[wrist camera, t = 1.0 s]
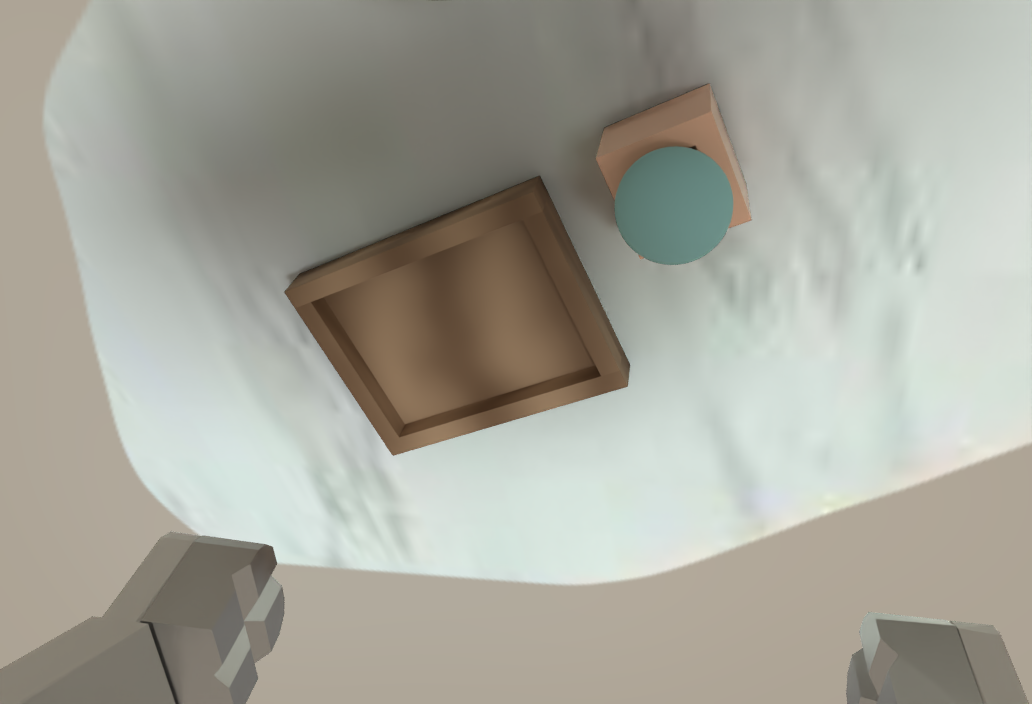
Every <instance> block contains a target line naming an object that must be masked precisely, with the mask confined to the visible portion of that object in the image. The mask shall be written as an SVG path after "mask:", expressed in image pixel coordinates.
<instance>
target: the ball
mask: <svg viewBox="0 0 1032 704" xmlns="http://www.w3.org/2000/svg"><path fill="white" fill-rule="evenodd" d="M732 214H733V194H732V189H731V186H730V183H729V180H728V178H727V176H726V174H725V173H724V171H723V170H722V169H721V168H720V166H719V165H718V164H717V163H716V162H715V161H714V160H713V159H712V158H710V157H709V156H707V155H706V154H704V153H702V152H700V151H698V150H695V149H692V148H687V147H678V146H673V147H665V148H660V149H657V150H654V151H651V152H649V153H647V154H645V155H644V156H642V157H641V158H639V159H638V160H637V161H636V162H635V163H634V164H633V165H632V166H631V167H630V168H629V169H628V170H627V172H626V173H625V174H624V176H623V178H622V180H621V181H620V184H619V186H618V189H617V192H616V197H615V218H616V222H617V225H618V228H619V231H620V233H621V235H622V237H623V238H624V240H625V241H626V243H627V244H628V245H629V246H630V247H631V248H632V249H633V250H634V251H635V252H636V253H637V254H639V255H640V256H642V257H644V258H646V259H648V260H650V261H653V262H656V263H660V264H667V265H678V264H685V263H689V262H692V261H695V260H697V259H699V258H701V257H703V256H705V255H706V254H707V253H709V252H710V251H711V250H712V249H713V248H714V247H716V246H717V245H718V243H719V242H720V241H721V240H722V238H723V237H724V235H725V234H726V232H727V229H728V227H729V225H730V222H731V219H732Z"/></svg>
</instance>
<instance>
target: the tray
mask: <svg viewBox="0 0 1032 704" xmlns="http://www.w3.org/2000/svg"><path fill="white" fill-rule="evenodd" d="M285 294H286V295H287V297H288V298H289V300H290V302H291V303H292V305H293V306H294V308H295V309H296V311H297V312H298V314H299V315H300V317H301V318H302V320H303V321H304V323H305V324H306V326H307V327H308V329H309V330H310V332H311V333H312V335H313V336H314V338H315V339H316V341H317V342H318V344H319V345H320V347H321V348H322V350H323V351H324V353H325V354H326V356H327V357H328V359H329V360H330V362H331V363H332V365H333V366H334V368H335V369H336V371H337V372H338V374H339V375H340V377H341V378H342V380H343V381H344V383H345V384H346V386H347V387H348V389H349V390H350V392H351V393H352V395H353V396H354V398H355V399H356V401H357V402H358V404H359V405H360V407H361V409H362V410H363V412H364V413H365V415H366V416H367V418H368V419H369V421H370V422H371V424H372V425H373V427H374V428H375V430H376V431H377V433H378V434H379V436H380V437H381V439H382V440H383V442H384V443H385V445H386V446H387V448H388V449H389V451H390V452H391V454H392V455H393V456H394V455H397V454H400V453H404V452H407V451H410V450H414V449H417V448H421V447H424V446H427V445H431V444H434V443H438V442H441V441H444V440H448V439H451V438H455V437H458V436H461V435H465V434H468V433H472V432H475V431H478V430H482V429H485V428H489V427H492V426H495V425H499V424H502V423H506V422H509V421H512V420H516V419H519V418H523V417H526V416H529V415H533V414H536V413H539V412H543V411H546V410H550V409H553V408H556V407H560V406H563V405H567V404H570V403H573V402H577V401H580V400H584V399H587V398H590V397H594V396H597V395H601V394H604V393H607V392H611V391H614V390H618V389H621V388H624V387H628V379H629V370H630V364H629V361H628V359H627V357H626V355H625V353H624V351H623V349H622V347H621V345H620V343H619V341H618V338H617V336H616V334H615V332H614V330H613V328H612V326H611V324H610V322H609V320H608V318H607V315H606V313H605V311H604V309H603V307H602V305H601V303H600V301H599V299H598V297H597V294H596V292H595V290H594V288H593V286H592V284H591V282H590V280H589V278H588V276H587V274H586V271H585V269H584V267H583V265H582V263H581V261H580V259H579V257H578V255H577V253H576V251H575V248H574V246H573V244H572V242H571V240H570V238H569V236H568V234H567V232H566V230H565V228H564V225H563V223H562V221H561V219H560V217H559V215H558V213H557V211H556V209H555V207H554V205H553V202H552V200H551V198H550V196H549V194H548V192H547V190H546V188H545V186H544V184H543V182H542V179H541V177H540V176H538V177H535V178H533V179H530V180H528V181H525V182H523V183H521V184H518V185H516V186H513V187H511V188H508V189H506V190H503V191H501V192H499V193H496V194H494V195H491V196H489V197H486V198H484V199H481V200H479V201H477V202H474V203H472V204H469V205H467V206H464V207H462V208H459V209H457V210H455V211H452V212H450V213H447V214H445V215H442V216H440V217H437V218H435V219H433V220H430V221H428V222H425V223H423V224H420V225H418V226H415V227H413V228H411V229H408V230H406V231H403V232H401V233H398V234H396V235H393V236H391V237H389V238H386V239H384V240H381V241H379V242H376V243H374V244H372V245H369V246H367V247H364V248H362V249H359V250H357V251H354V252H352V253H350V254H347V255H345V256H342V257H340V258H337V259H335V260H332V261H330V262H328V263H325V264H323V265H320V266H318V267H315V268H313V269H310V270H308V271H306V272H303V273H301V274H299V275H298V276H297V277H296V279H295V280H294V281H293V282H292V283H291V285H290V286H289V287H288V288H287V289H286V290H285Z"/></svg>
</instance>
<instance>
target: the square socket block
mask: <svg viewBox="0 0 1032 704" xmlns="http://www.w3.org/2000/svg"><path fill="white" fill-rule="evenodd" d="M673 146H678V147H687V148H692V149H695V150H698V151H700V152H702V153H704V154H706V155H707V156H709V157H710V158H712V159H713V160H714V161H715V162H716V163H717V164H718V165H719V166H720V168H721V169H722V170H723V171H724V173H725V174H726V176H727V178H728V180H729V183H730V186H731V189H732V194H733V214H732V219H731V222H730V225H729V227H728V228H731V227H734V226H737V225H739V224H742V223H745V222H748V221H751V220H752V219H751V212H750V206H749V199H748V192H747V186H746V182H745V179H744V177H743V174H742V171H741V168H740V166H739V163H738V160H737V157H736V155H735V152H734V149H733V146H732V144H731V141H730V138H729V135H728V133H727V130H726V127H725V124H724V122H723V119H722V116H721V113H720V111H719V108H718V105H717V102H716V100H715V97H714V94H713V91H712V89H711V86H710V84H707V85H705V86H702V87H700V88H698V89H695V90H693V91H690V92H688V93H686V94H683V95H681V96H679V97H676V98H674V99H671V100H669V101H667V102H664V103H662V104H659V105H657V106H655V107H652V108H650V109H648V110H645V111H643V112H640V113H638V114H636V115H633V116H631V117H628V118H626V119H624V120H621V121H619V122H617V123H614V124H612V125H609V126H607V127H605V128H604V130H603V134H602V137H601V141H600V145H599V148H598V152H597V156H596V160H597V163H598V165H599V167H600V169H601V172H602V174H603V176H604V178H605V181H606V183H607V185H608V187H609V190H610V192H611V194H612V196H613V199H614V201H615V197H616V192H617V189H618V186H619V184H620V181H621V180H622V178H623V176H624V174H625V173H626V172H627V170H628V169H629V168H630V167H631V166H632V165H633V164H634V163H635V162H636V161H637V160H638V159H639V158H641V157H642V156H644V155H645V154H647V153H649V152H651V151H654V150H657V149H660V148H665V147H673ZM638 255H639V254H638ZM639 257H640V259H643V258H644V257H642V256H640V255H639Z"/></svg>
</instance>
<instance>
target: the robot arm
mask: <svg viewBox="0 0 1032 704" xmlns="http://www.w3.org/2000/svg"><path fill="white" fill-rule="evenodd" d="M276 565H277V561H276V557H275V554H274V550H273V547H272V546H269V545H266V544H260V543H253V542H246V541H239V540H231V539H224V538H217V537H210V536H199V535H192V534H185V533H177V532H169V533H168V534H166V535H164V536H163V537H161V538H160V539H159V540H158V542H157V543H156V544H155V546H154V547H153V549H152V550H151V551H150V553H149V554H148V556H147V557H146V558H145V559H144V561H143V562H142V564H141V565H140V566H139V568H138V569H137V570H136V572H135V573H134V575H133V576H132V577H131V579H130V580H129V581H128V583H127V584H126V586H125V587H124V588H123V590H122V591H121V592H120V594H119V595H118V596H117V598H116V599H115V601H114V602H113V603H112V605H111V606H110V607H109V609H108V610H107V611H106V613H105V614H104V616H103V617H93V616H92V617H91V618H89V619H87V620H85V621H84V622H82V623H80V624H78V625H77V626H75V627H73V628H71V629H70V630H68V631H67V632H64V633H63V634H61V635H59V636H57V637H56V638H54V639H52V640H51V641H49V642H47V643H45V644H44V645H42V646H40V647H39V648H37V649H35V650H33V651H31V652H30V653H28V654H26V655H24V656H23V657H21V658H19V659H18V660H16V661H14V662H12V663H10V664H9V665H7V666H5V667H3V668H2V669H0V704H246V702H247V700H248V698H249V696H250V694H251V691H252V690H253V688H254V686H255V684H256V682H257V680H258V676H257V672H256V667H255V663H256V662H257V661H259V660H260V659H261V658H263V657H264V656H266V655H267V654H269V653H270V652H271V651H272V649H273V647H274V645H275V642H276V640H277V638H278V636H279V634H280V629H281V625H282V621H283V617H284V594H283V589H282V585H281V584H279V583H278V582H277V581H276V580H275V579H274V578H273V577H272V576H271V574H272V572H273V571H274V569H275V567H276ZM859 633H860V637H861V642H862V646H863V648H862V649H861V650H859V651H858V652H856V653H854V654H853V655H852V658H851V662H850V666H849V670H848V676H847V693H846V695H847V704H1029V702H1028V700H1027V697H1026V695H1025V693H1024V690H1023V688H1022V686H1021V683H1020V681H1019V678H1018V676H1017V673H1016V671H1015V668H1014V666H1013V664H1012V661H1011V659H1010V656H1009V654H1008V652H1007V649H1006V647H1005V644H1004V642H1003V639H1002V638H1001V635H1000V632H999V631H998V630H996V628H995V627H994V626H992V625H984V624H975V623H965V622H956V621H949V622H948V621H947V620H940V619H930V618H920V617H911V616H901V615H891V614H882V613H871V612H868V614H867V615H866V616H865V617H864V619H863V622H862V625H861V628H860V631H859Z"/></svg>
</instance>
